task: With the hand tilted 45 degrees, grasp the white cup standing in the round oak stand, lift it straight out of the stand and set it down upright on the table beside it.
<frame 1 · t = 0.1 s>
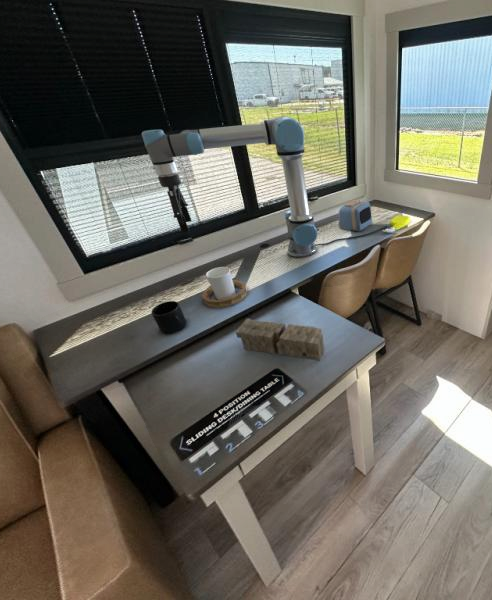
hand: (187, 226, 135), 28 cm above the table, tool pointing down, fingers open, 13 cm apart
spray bottle: (396, 227, 195), on the table
stand: (226, 295, 139), on the table
white cup: (226, 296, 139), resting in stand
alarm clock: (355, 226, 199), on the table
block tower: (284, 347, 109), on the table
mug: (176, 328, 122), on the table
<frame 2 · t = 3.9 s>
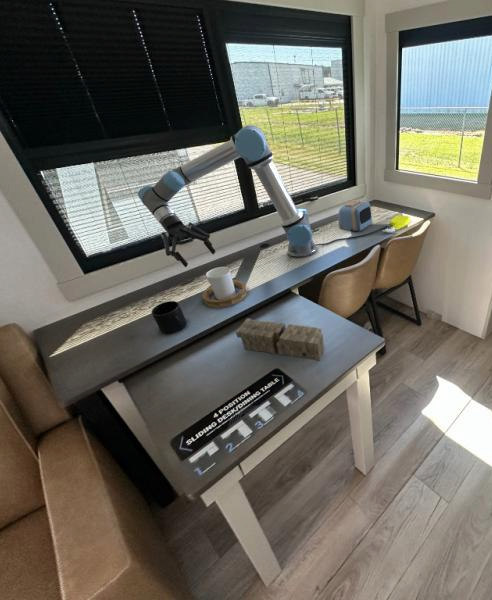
hand: (201, 259, 136), 16 cm above the table, tool tilted 45°, fingers open, 13 cm apart
nothing on the table moved.
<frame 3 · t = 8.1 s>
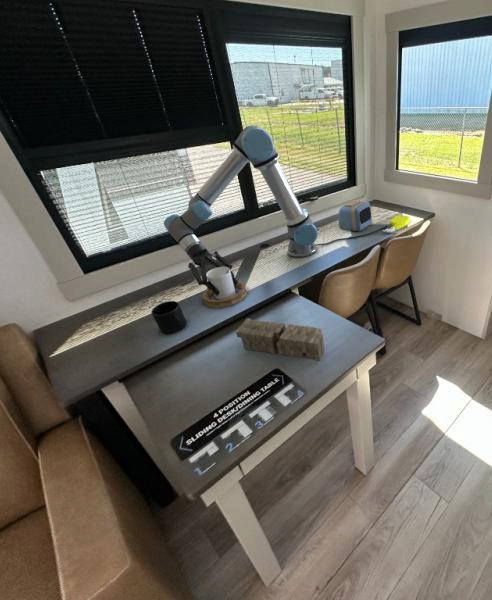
hand: (227, 289, 135), 5 cm above the table, tool tilted 45°, fingers closed on white cup, 9 cm apart
white cup: (226, 296, 139), resting in stand, touching gripper
everything else where it was.
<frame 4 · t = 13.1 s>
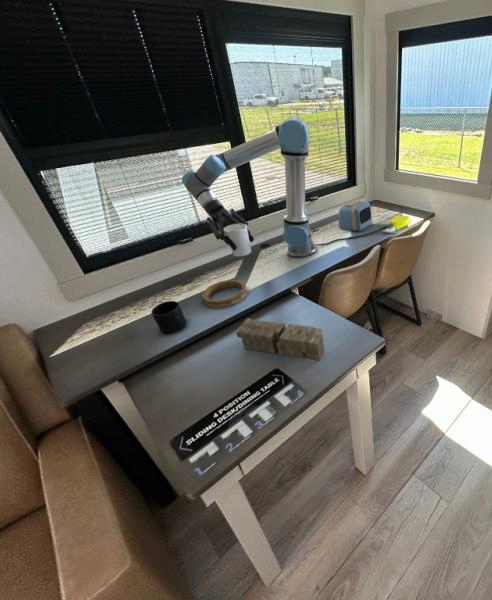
hand: (244, 244, 139), 19 cm above the table, tool tilted 45°, fingers closed on white cup, 9 cm apart
white cup: (242, 252, 143), point 14 cm above the table, touching gripper
everything else where it was.
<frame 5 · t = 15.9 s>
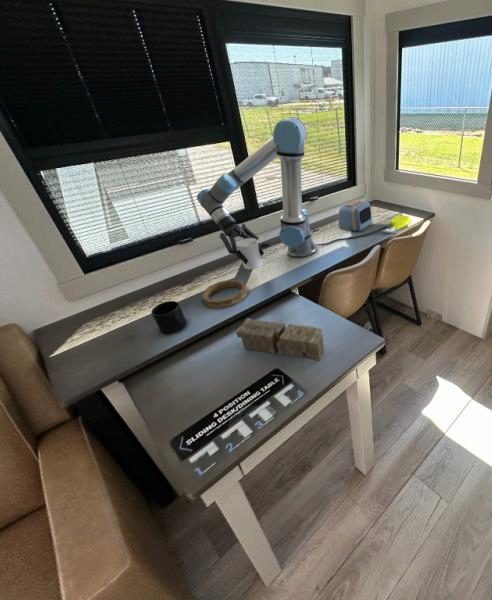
hand: (254, 258, 147), 10 cm above the table, tool tilted 45°, fingers closed on white cup, 9 cm apart
white cup: (252, 265, 151), point 5 cm above the table, touching gripper
everything else where it was.
when the fingers open (4 cm above the table, at t = 17.9 s): white cup stays where it is, on the table.
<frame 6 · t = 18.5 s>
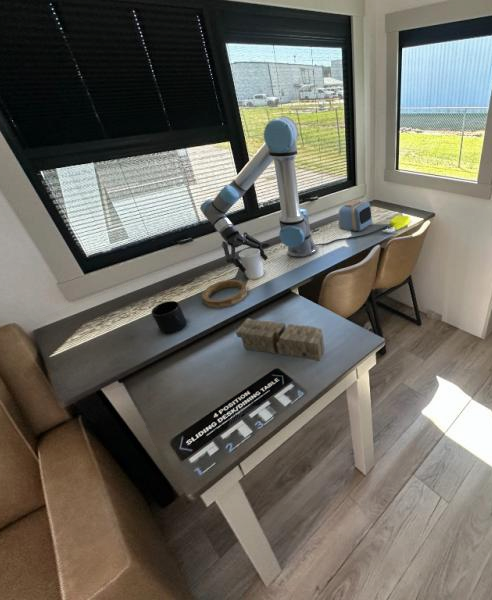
hand: (255, 265, 149), 6 cm above the table, tool tilted 45°, fingers open, 13 cm apart
white cup: (255, 275, 154), on the table
everything else where it was.
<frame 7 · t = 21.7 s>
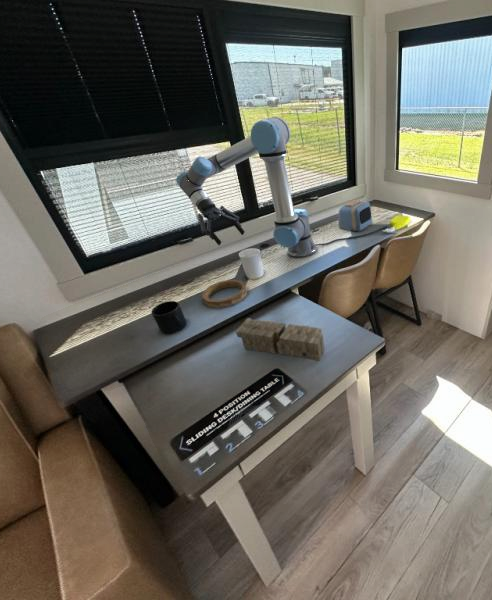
hand: (232, 238, 150), 17 cm above the table, tool tilted 45°, fingers open, 13 cm apart
nothing on the table moved.
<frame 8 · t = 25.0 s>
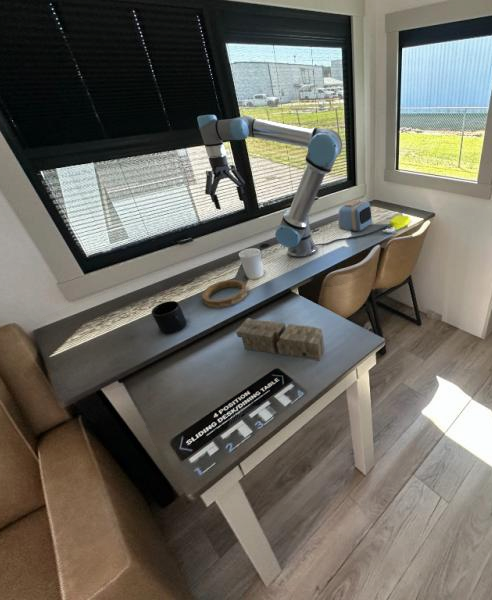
hand: (230, 204, 149), 31 cm above the table, tool pointing down, fingers open, 13 cm apart
nothing on the table moved.
at the end: white cup inside the target area (0.1 cm from its centre), on the table; white cup tilted 0°; the gripper is holding nothing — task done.
